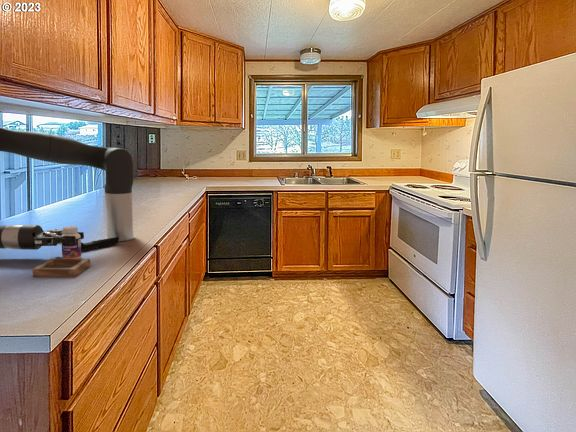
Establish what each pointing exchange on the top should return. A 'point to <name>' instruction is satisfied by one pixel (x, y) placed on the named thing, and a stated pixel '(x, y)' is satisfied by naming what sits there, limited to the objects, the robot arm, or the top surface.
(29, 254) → the top surface
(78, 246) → the pill bottle
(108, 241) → the electric trimmer
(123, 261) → the top surface
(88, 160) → the robot arm
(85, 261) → the socket block
